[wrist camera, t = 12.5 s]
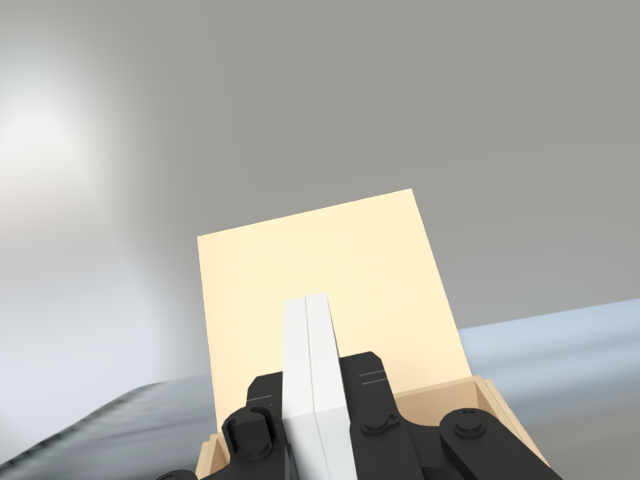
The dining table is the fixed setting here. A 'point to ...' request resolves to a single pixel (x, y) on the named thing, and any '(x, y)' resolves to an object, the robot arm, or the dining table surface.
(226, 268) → the carton flap
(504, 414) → the carton
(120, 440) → the dining table surface
